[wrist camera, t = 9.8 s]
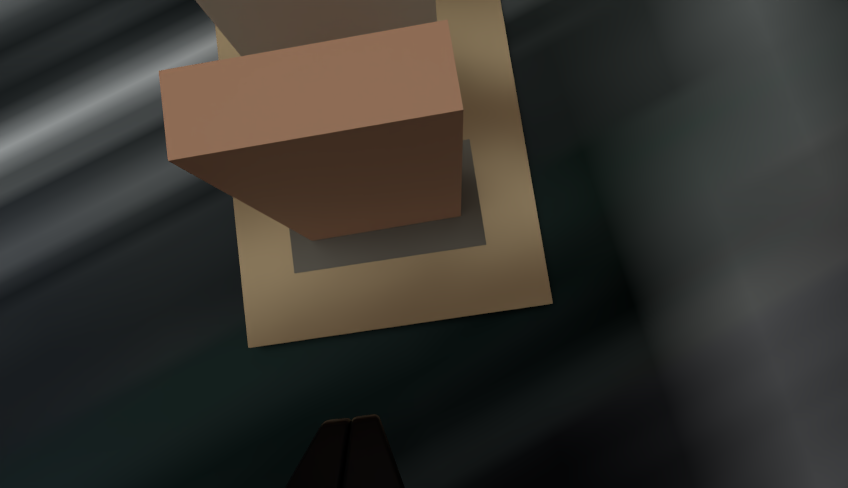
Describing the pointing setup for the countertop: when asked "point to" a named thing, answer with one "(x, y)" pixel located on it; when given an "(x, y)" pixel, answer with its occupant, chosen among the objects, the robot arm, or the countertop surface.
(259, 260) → the domino board
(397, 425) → the countertop surface
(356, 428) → the robot arm
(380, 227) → the domino
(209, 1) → the domino
